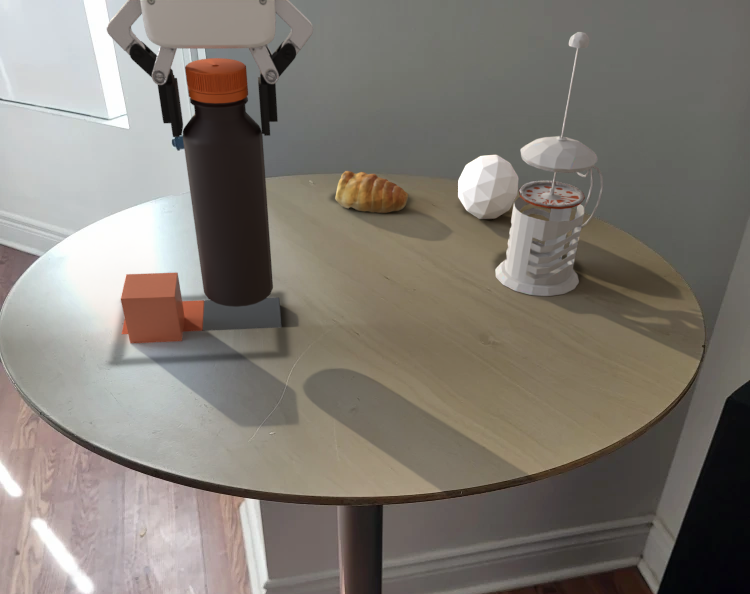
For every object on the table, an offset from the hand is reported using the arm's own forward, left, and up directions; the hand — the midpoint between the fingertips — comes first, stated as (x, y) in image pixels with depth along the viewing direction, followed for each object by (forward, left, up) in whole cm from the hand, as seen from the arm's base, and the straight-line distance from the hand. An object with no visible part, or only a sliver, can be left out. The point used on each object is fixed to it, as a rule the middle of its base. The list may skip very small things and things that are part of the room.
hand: (222, 129), depth 66 cm
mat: (-4, 0, -20) cm, 20 cm away
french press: (+35, +11, -20) cm, 42 cm away
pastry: (+17, +33, -20) cm, 42 cm away
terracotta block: (-8, 0, -19) cm, 21 cm away
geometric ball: (+32, +28, -20) cm, 47 cm away
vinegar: (0, 0, -15) cm, 15 cm away
